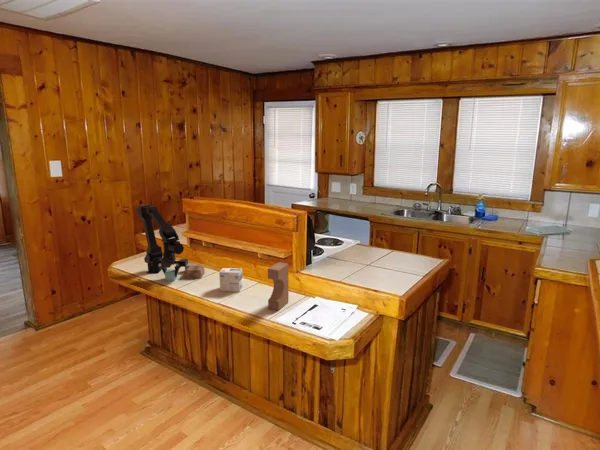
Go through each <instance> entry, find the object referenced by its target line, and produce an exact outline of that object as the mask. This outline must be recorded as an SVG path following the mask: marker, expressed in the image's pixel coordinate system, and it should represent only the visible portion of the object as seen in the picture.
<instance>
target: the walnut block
mask: <svg viewBox="0 0 600 450" xmlns="http://www.w3.org/2000/svg"><path fill="white" fill-rule="evenodd" d="M186 272H187V273H186V279H203V278H202V277H204V275H205V272H206V271H205V265H202V264H201V265H199V264H198V265H195V264H194V265H190V266H189V268H188V269H187V270H186Z"/></svg>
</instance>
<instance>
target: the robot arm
mask: <svg viewBox="0 0 600 450" xmlns="http://www.w3.org/2000/svg"><path fill="white" fill-rule="evenodd" d="M136 214H137V217H138V219H140V220H141V221H142V225H143V230H144V234H145V238H146V243H147V247H146V251H145V252H146V255H145V257H144V258H143V260H144V263H146V264H147V271H146V273H147V274H159V273H160V271H162V272H163V275H165V272H166V271H167V270H168V269H170V267H171V266H173V265H175V266H174V269H175V277H177V278H178V274H179V270H180V269H181V267H183V268H185V266H187V264H188V263H189V260H188V258H180V259H179V260H177V257H176V255H181V254H182V253H183V251H184V250H185V247H184V244H182V243H181V242H180V238H179V235H178V233H177V231H176V229H175V228H174V227H173V226H172V225H171V224H169V223H167V222H166V220H165V218H164V217H163V216H162V213H160V211H159V209H158V207H157V206H156V205H151V204H143V205H138V206H137V208H136ZM153 222H154V223H155V225H156V226H157V228H158V234H159V237H160V238H161V240H160V241H161V242H162V245H163V249H162V246H160V245H159V244H158V243H157V240H156V238H157V237H156V234H155V229H154V224H153Z"/></svg>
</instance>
